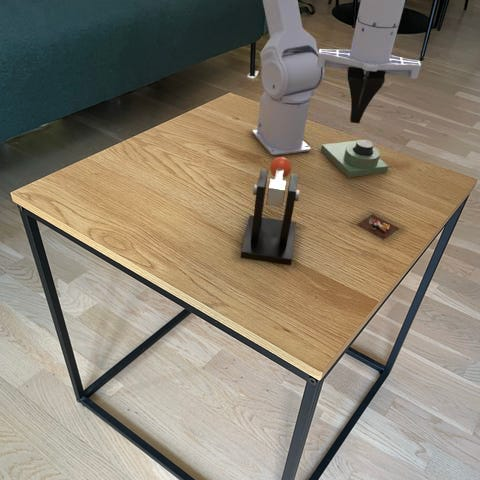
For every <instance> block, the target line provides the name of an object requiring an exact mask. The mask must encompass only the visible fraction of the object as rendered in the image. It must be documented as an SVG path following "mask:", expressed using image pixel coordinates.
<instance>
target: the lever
mask: <svg viewBox="0 0 480 480" xmlns="http://www.w3.org/2000/svg"><path fill="white" fill-rule="evenodd" d="M269 170H270V173H271V175H272V176H273V177H274V178H270V179H269V182H268V188H267V194H266V200H265V201H266V202H265V204H266V205H267V206H274V207H281V208H282V207H283V206H284V200H285V194H286V187H287V180H283V179H285V178H287V177H288V176H289V175H290V174H291V172H292V171H291V170H292V164H291V161H290V160H289V159H287V158H286V157H284V156H277V157H275V158H274V159H273V160H272V161H271V163H270V167H269Z"/></svg>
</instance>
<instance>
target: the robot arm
mask: <svg viewBox="0 0 480 480" xmlns="http://www.w3.org/2000/svg"><path fill="white" fill-rule="evenodd" d="M405 4H406V0H360V3H359V7H358V12H357V18H356V21H355V22H356V23H355V27H354V32H353V37H352V40H351V41H352V42H351V47H350V49H326V48H319V49H318V46H317V41H316V39H315V38H314V37H313V36H312V35H311V34H310V33H309V32H308V31H307V30H306V29H304V27H303V23H302V17H301V12H300V6H299V1H298V0H262V5H263V9H264V14H265V19H266V24H267V29H268V33H269V39H268V40H267V42H266V44H265V45H264V47H263V48H262V49H261V51H260V53H259V57H260V62H261V72H260V73H261V74H260V77H261V79H260V80H261V84H262V87H263V89H264V91H263V93H262V94H261V96H260V100H259V109H258V117H257V125H256V126H257V127H256V129H253V130H252V134H253V136H255V138H256V139H257V140H258V141H259V143H260V144H262V146H263V147H264V148H265V150H267V151H268V153H270V155H271V156H279V155H289V154H297V153H303V152H310V151H311V150H312V148H311V147H310V145H308V144H307V142H305V141H304V136H305V129H306V125H307V119H308V113H309V107H310V102H311V98H312V97H313V96H314V94H315V90H316V89H318V88H319V87H320V86H321V85H322V83H323V81H324V79H325V72H326V71H325V68H334V69H341V70H346V72H347V73H346V74H347V82H348V87H349V93H350V104H351V105H350V106H351V107H350V117H349V121H350V122H349V123H351V124H360V123H361V120H362V117H363V115H364V113H365V112H366V110H367V108H368V107H369V104H370V103H371V101H372V100H373V98H374V97H375V96H376V94H377V93H378V92H379V91H380V89H382V87H383V86H384V84H385V80H386V78H385V76H386V75H390V76H401V77H406V78H407V77H409V79H412V80H418V78H419V74H420V71H421V67H422V64H421V61H420V60H416V59H410V58H406V57H402V56H397V55H394V54H393V55H392V52H393V49H394V44H395V41H396V37H397V33H398V30H399V26H400V22H401V19H402V14H403V10H404V7H405Z"/></svg>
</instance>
